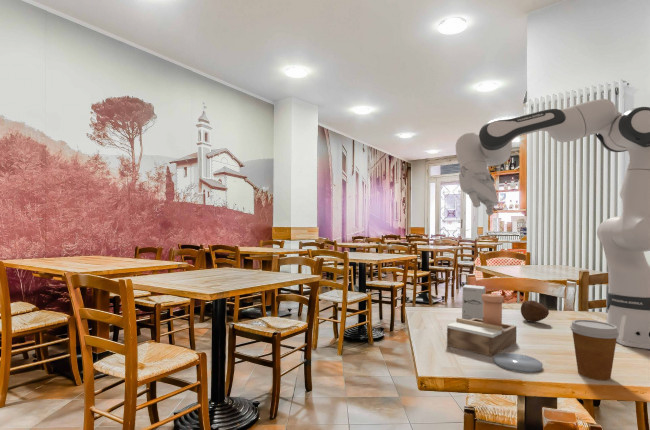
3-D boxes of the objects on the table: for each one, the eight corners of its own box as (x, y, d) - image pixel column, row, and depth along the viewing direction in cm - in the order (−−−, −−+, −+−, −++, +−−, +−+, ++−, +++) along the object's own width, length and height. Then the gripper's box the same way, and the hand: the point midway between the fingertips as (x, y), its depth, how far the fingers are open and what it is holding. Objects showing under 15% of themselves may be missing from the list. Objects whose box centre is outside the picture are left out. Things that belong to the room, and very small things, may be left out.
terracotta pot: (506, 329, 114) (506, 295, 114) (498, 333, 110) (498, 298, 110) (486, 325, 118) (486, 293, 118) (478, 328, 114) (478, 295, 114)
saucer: (548, 364, 96) (548, 360, 96) (534, 376, 88) (534, 372, 88) (502, 353, 104) (502, 350, 104) (486, 363, 96) (486, 359, 96)
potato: (526, 318, 146) (526, 297, 146) (553, 324, 137) (553, 302, 138) (515, 320, 142) (515, 299, 142) (541, 326, 134) (541, 304, 134)
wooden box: (516, 342, 114) (516, 326, 114) (492, 356, 101) (492, 337, 101) (473, 333, 123) (473, 318, 123) (447, 345, 110) (447, 327, 111)
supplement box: (461, 321, 139) (461, 286, 139) (464, 317, 146) (464, 284, 146) (483, 324, 136) (483, 288, 136) (485, 319, 142) (485, 285, 142)
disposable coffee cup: (560, 367, 94) (560, 319, 94) (597, 367, 95) (597, 319, 95) (590, 384, 85) (590, 329, 85) (630, 383, 85) (630, 329, 86)
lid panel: (502, 333, 106) (502, 326, 106) (492, 337, 101) (492, 330, 101) (457, 323, 115) (458, 317, 115) (447, 327, 111) (447, 321, 111)
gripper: (468, 160, 124) (477, 197, 118) (496, 180, 137) (506, 215, 131) (451, 168, 128) (459, 204, 122) (480, 187, 141) (488, 221, 135)
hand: (483, 210), depth 126 cm, fingers open, 8 cm apart
